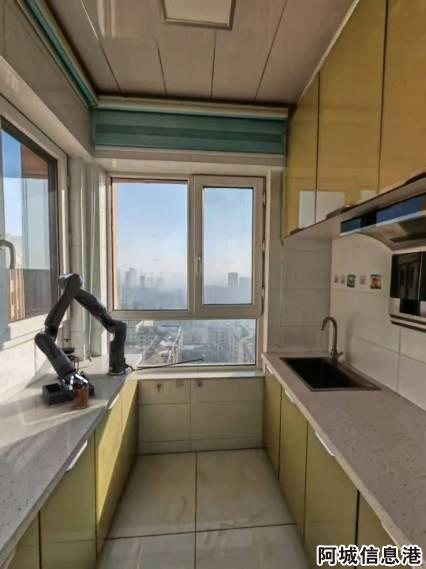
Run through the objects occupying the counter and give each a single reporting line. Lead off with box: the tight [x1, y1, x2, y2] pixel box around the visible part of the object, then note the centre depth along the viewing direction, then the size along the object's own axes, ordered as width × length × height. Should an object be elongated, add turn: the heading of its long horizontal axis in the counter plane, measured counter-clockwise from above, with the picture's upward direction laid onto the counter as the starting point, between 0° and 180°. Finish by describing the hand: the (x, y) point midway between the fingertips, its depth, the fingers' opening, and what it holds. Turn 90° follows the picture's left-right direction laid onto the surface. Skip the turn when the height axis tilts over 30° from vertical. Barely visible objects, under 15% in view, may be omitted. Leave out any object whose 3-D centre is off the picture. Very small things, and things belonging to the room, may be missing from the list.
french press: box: [57, 337, 80, 380], centre depth 168 cm, size 12×9×23 cm
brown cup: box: [73, 385, 89, 411], centre depth 131 cm, size 6×6×9 cm
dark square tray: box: [41, 378, 95, 406], centre depth 142 cm, size 20×17×5 cm
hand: (82, 394), depth 131 cm, fingers open, 8 cm apart
